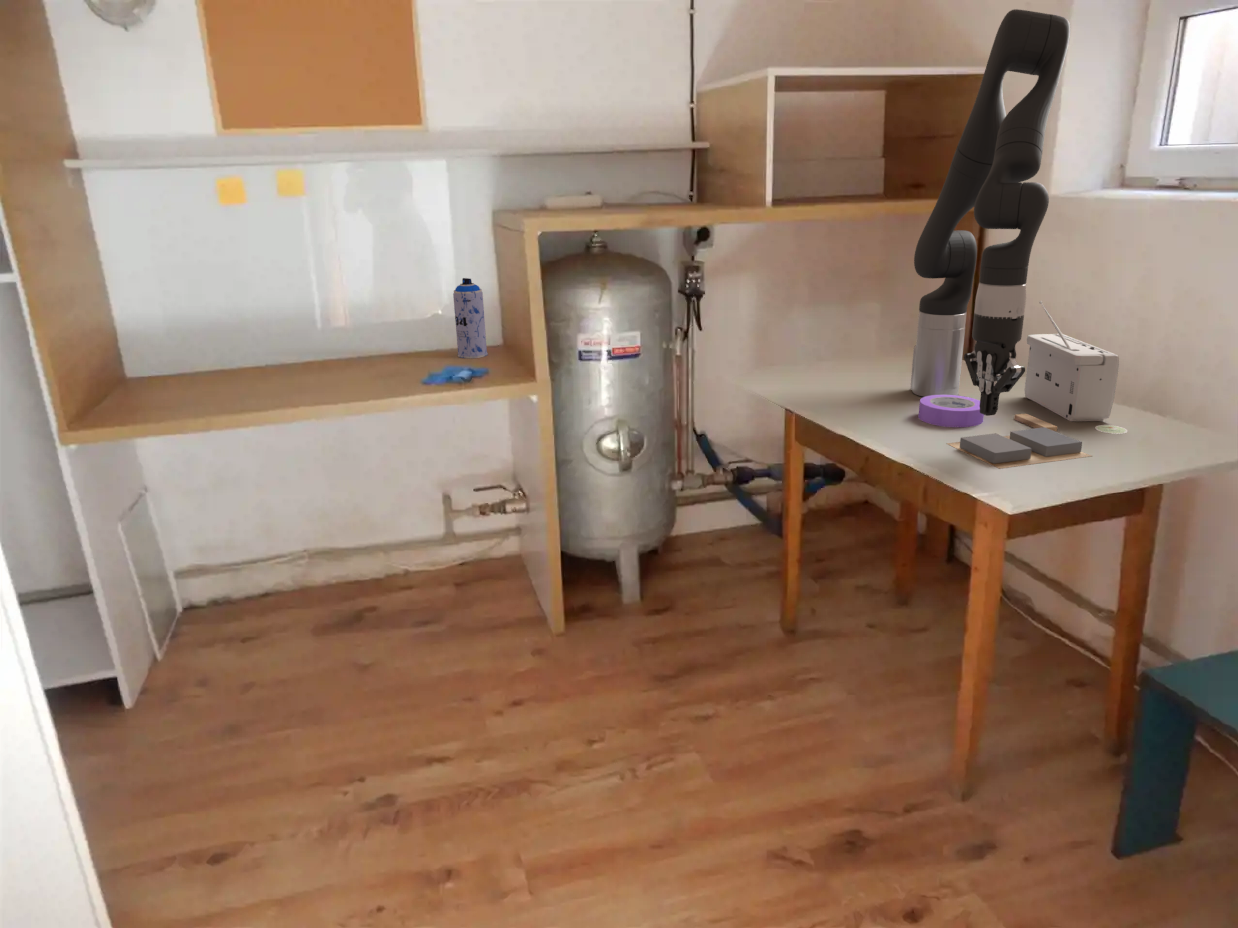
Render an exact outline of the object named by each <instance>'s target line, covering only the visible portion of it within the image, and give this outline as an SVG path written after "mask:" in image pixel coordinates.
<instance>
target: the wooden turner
mask: <svg viewBox="0 0 1238 928" xmlns="http://www.w3.org/2000/svg"><path fill="white" fill-rule="evenodd" d="M1013 420H1015V421H1017V422H1019V423H1021V424H1024V425H1027V426H1028V427H1031V428H1032V429H1034V428H1042V427H1045V428H1048V429H1050V430H1053V431H1055V432H1058V426H1057V425H1054V424H1052V423H1050V422H1047V421H1046V420H1043V419H1040V418H1038V417H1036V416H1033V415H1030V414H1028V413H1017V414H1014V416H1013Z"/></svg>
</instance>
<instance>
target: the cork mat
mask: <svg viewBox="0 0 1238 928" xmlns="http://www.w3.org/2000/svg"><path fill="white" fill-rule="evenodd" d="M1002 436H1003V437H1006V438H1008V439H1010V435H1002ZM946 445H948V446H951V447H953V448H955V449H956V450H959V451H961V452H962V453H966V454H967V455H970V456H972V457H974V458H976V459H978V460H981V461H983V462H984V463H986V464H989V465H991V466H992V467H995V468H998V469H1000V470H1001V469H1008V468H1015V467H1022V466H1023V467H1024V466H1030V465H1037V464H1044V463H1051V462H1058V461H1060V462H1061V461H1066V460H1067V461H1068V460H1074V459H1082V458H1090V457H1092V455H1091V454H1088V453H1085V452H1083V451H1081V452H1078V453H1071V454H1063V455H1055V456H1048V457H1045V456H1043V455H1040V454H1038V453H1036V452H1033V451H1031V458H1030V459H1025V460H1018V461H1010V462H1003V463H995V464H994V463H991V462H989V461H987V460H985V459H983V458H981V457H979V456H977V455H974V454H972V453H970V452H968V451H966V450H964V449H962V448H960V441H956V442H948V443H946Z"/></svg>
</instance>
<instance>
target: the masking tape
mask: <svg viewBox="0 0 1238 928" xmlns="http://www.w3.org/2000/svg"><path fill="white" fill-rule="evenodd" d="M917 415H918V416H917V418H918V419H919V420H920V421H922V422H924V423H927V424H930V425H934V426H938V427H946V428H969V427H976V426H979V425H981V424H983V422H984V417H985V415H983V414H981V413H980V399H977V398H973V397H970V396H969V397H968V396H963V395H931V396H926V397H923V396H922V397H921V398H920V400H919V406H918V414H917Z"/></svg>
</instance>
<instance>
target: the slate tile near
mask: <svg viewBox="0 0 1238 928" xmlns="http://www.w3.org/2000/svg"><path fill="white" fill-rule="evenodd" d="M1003 436H1004V435H1000V434H998V433H996V432H995V433H994V432H993V433H987V434H986V433H985V434H979V435H977V434H976V435H970V436H964V437H963V436H962V437H960V441H959V442H960V448H962V449H964V450H966V451H968V452H970V453H972V454H974V455H977V456H979V457H981V458H983V459H985V460H987V461H989V462H991V463H994V464H995V463H1003V462H1010V461H1018V460H1025V459H1030V458H1031V450H1032V448H1030V447H1027V446H1025V445H1022V444H1020V443H1018V442H1015V441H1013V440H1011V439H1008V438H1006V437H1003Z"/></svg>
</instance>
